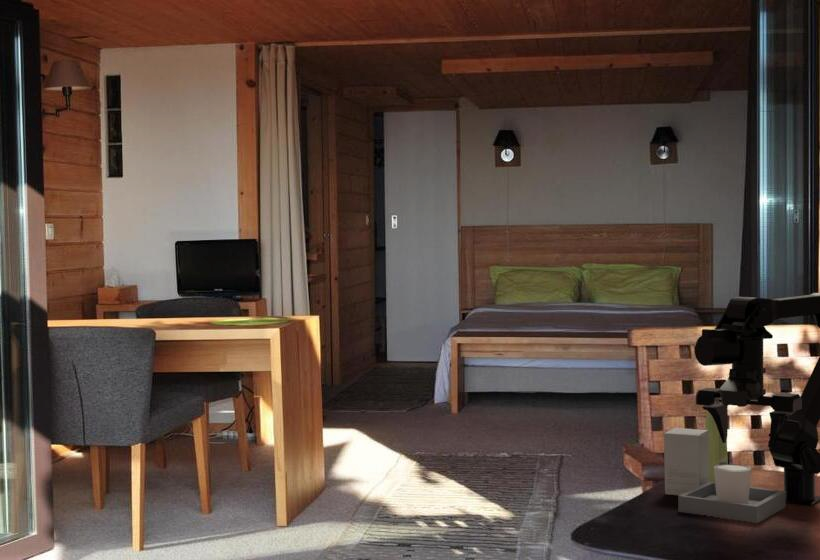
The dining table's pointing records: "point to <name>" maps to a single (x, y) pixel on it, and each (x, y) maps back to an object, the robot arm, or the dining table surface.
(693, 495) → the tray
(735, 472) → the white cup
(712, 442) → the tube
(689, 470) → the supplement box
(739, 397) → the robot arm
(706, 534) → the dining table surface
